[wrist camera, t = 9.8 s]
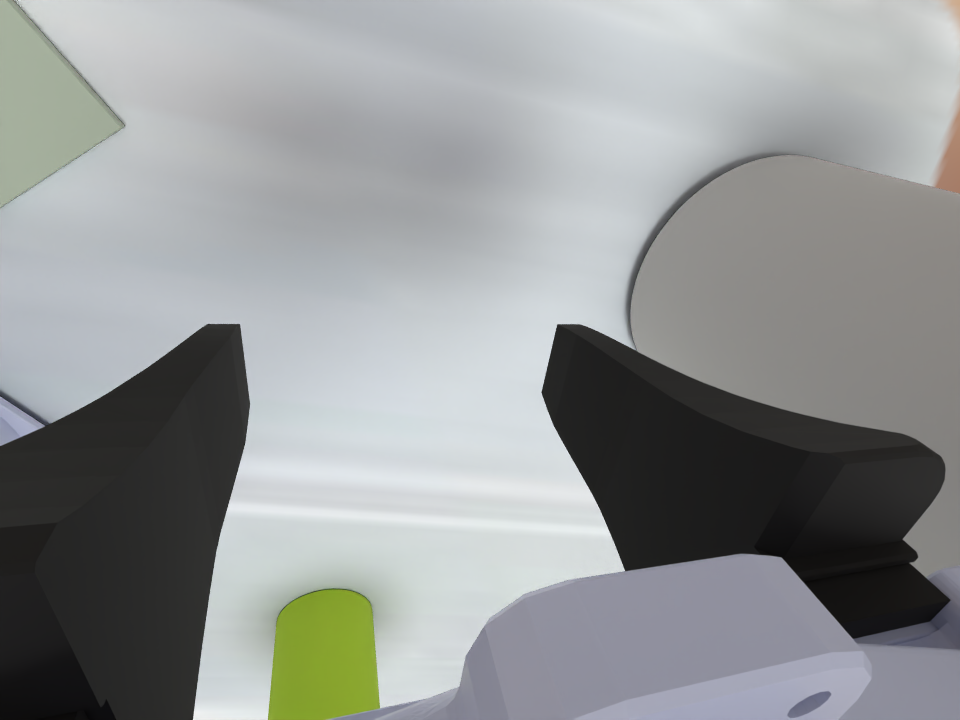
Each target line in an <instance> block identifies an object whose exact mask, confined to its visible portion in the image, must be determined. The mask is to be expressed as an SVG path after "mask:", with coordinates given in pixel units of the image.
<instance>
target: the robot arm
mask: <svg viewBox="0 0 960 720" xmlns="http://www.w3.org/2000/svg"><path fill="white" fill-rule="evenodd" d="M542 395H543V398H544V401H545V404H546V407H547V410H548V412H549V415H550V417H551V420H552V422H553V425H554V427H555V429H556V431H557V432H558V434H559V436H560V438H561V440H562V441H563V443H564V445H565V447H566V449H567V450H568V452H569V454H570V456H571V458H572V459H573V461H574V463H575V465H576V466H577V468H578V470H579V472H580V473H581V475H582V477H583V479H584V480H585V482H586V484H587V486H588V487H589V489H590V491H591V493H592V494H593V496H594V498H595V500H596V502H597V504H598V506H599V508H600V510H601V513H602V515H603V517H604V520H605V522H606V524H607V527H608V529H609V531H610V534H611V536H612V538H613V541H614V543H615V546H616V548H617V551H618V553H619V556H620V559H621V561H622V564H623V566H624V569H625V571H624V572H618V573H611V574H605V575H598V576H591V577H585V578H578V579H572V580H567V581H563V582H560V583H557V584H554V585H551V586H548V587H545V588H541V589H538V590H535V591H532V592H529V593H526V594H524V595H522V596H521V597H519V598H518V599H517V600H515V601H514V602H512V603H511V604H509V605H508V606H506V607H505V608H504V609H502V610H501V611H499V612H498V613H496V614H495V615H493V616H492V617H491V618H489V620H488V621H487V623H486V624H485V626H484V628H483V629H482V631H481V632H480V634H479V636H478V637H477V639H476V641H475V642H474V644H473V645H472V647H471V649H470V650H469V652H468V654H467V655H466V658H465V663H464V668H463V673H462V677H461V682H460V686H459V687H457V688H454V689H451V690H449V691H446V692H444V693H441V694H438V695H436V696H433V697H431V698H428V699H423V700H419V701H414V702H409V703H404V704H399V705H394V706H389V707H385V708H380V709H375V710H370V711H365V712H360V713H355V714H351V715H346V716H341V717H336V718H331V719H326V720H960V565H959V566H954V567H949V568H943V569H941V570H938V571H935V572H934V573H932V574H930V575H929V576H927V577H925V576H924V575H922V574H921V573H920V572H919V571H918V570H917V569H916V568H915V567H914V566H912V565H911V564H910V563H912V562H915V561H916V560H917V558H918V554H917V552H916V551H915V550H914V549H913V548H912V547H911V546H910V545H908V544H907V543H906V542H905V541H904V540H903V538H904V537H905V536H906V534H907V533H908V532H909V531H910V530H911V528H912V527H913V526H914V525H915V523H916V522H917V521H918V520H919V518H920V517H921V516H922V515H923V514H924V512H925V511H926V510H927V509H928V507H929V506H930V505H931V504H932V502H933V501H934V499H935V498H936V496H937V495H938V493H939V492H940V490H941V488H942V485H943V483H944V481H945V471H946V468H945V463H944V461H943V459H942V457H941V456H940V455H939V454H937V453H936V452H934V451H933V450H931V449H930V448H928V447H927V446H926V445H924V444H923V443H921V442H920V441H918V440H917V439H915V438H912V437H910V436H908V435H905V434H902V433H896V432H890V431H884V430H878V429H873V428H867V427H861V426H855V425H849V424H844V423H839V422H834V421H830V420H825V419H821V418H816V417H812V416H808V415H803V414H799V413H795V412H792V411H788V410H784V409H780V408H777V407H773V406H770V405H767V404H763V403H760V402H757V401H754V400H750V399H747V398H744V397H741V396H738V395H735V394H732V393H730V392H727V391H724V390H722V389H719V388H716V387H714V386H711V385H708V384H706V383H703V382H701V381H698V380H696V379H694V378H691V377H689V376H687V375H685V374H683V373H680V372H678V371H676V370H674V369H672V368H669V367H667V366H665V365H663V364H661V363H659V362H657V361H655V360H653V359H651V358H649V357H647V356H645V355H643V354H641V353H639V352H637V351H635V350H633V349H631V348H629V347H628V346H626V345H624V344H622V343H620V342H618V341H616V340H614V339H612V338H610V337H608V336H606V335H604V334H602V333H600V332H598V331H595V330H593V329H591V328H588V327H586V326H583V325H580V324H557V328H556V332H555V337H554V341H553V345H552V350H551V354H550V358H549V363H548V367H547V371H546V376H545V380H544V384H543V389H542ZM249 408H250V401H249V393H248V385H247V377H246V369H245V360H244V352H243V344H242V336H241V328H240V324H207V325H206V326H204V327H202V328H201V329H200V330H198V331H197V332H195V333H194V334H193V335H191V336H190V337H189V338H187V339H186V340H185V341H183V342H182V343H181V344H179V345H178V346H177V347H175V348H174V349H173V350H171V351H170V352H169V353H167V354H166V355H164V356H163V357H162V358H160V359H159V360H158V361H156V362H155V363H153V364H152V365H151V366H149V367H148V368H146V369H145V370H143V371H142V372H140V373H139V374H137V375H135V376H134V377H132V378H131V379H129V380H128V381H126V382H125V383H123V384H122V385H120V386H118V387H117V388H115V389H114V390H112V391H111V392H109V393H107V394H106V395H104V396H102V397H101V398H99V399H97V400H95V401H94V402H92V403H90V404H88V405H86V406H85V407H83V408H81V409H79V410H77V411H75V412H73V413H71V414H69V415H67V416H65V417H63V418H61V419H59V420H57V421H55V422H53V423H51V424H49V425H47V426H44V425H43V424H41V423H40V422H38V421H37V420H35V419H34V418H32V417H31V416H29V415H28V414H26V413H25V412H23V411H22V410H20V409H19V408H17V407H15V406H14V405H12V404H11V403H9V402H8V401H6V400H5V399H3V398H2V397H0V720H193V714H194V706H195V698H196V690H197V682H198V674H199V666H200V658H201V650H202V643H203V636H204V629H205V622H206V615H207V608H208V600H209V594H210V588H211V581H212V575H213V568H214V562H215V556H216V550H217V546H218V542H219V537H220V533H221V529H222V525H223V522H224V518H225V515H226V511H227V507H228V504H229V500H230V497H231V493H232V490H233V486H234V482H235V479H236V475H237V472H238V468H239V464H240V461H241V457H242V453H243V449H244V446H245V441H246V433H247V425H248V417H249Z"/></svg>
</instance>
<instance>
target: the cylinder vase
mask: <svg viewBox="0 0 960 720" xmlns="http://www.w3.org/2000/svg"><path fill="white" fill-rule="evenodd" d="M630 318H631V330H632V335H633V340H634V343H635V346H636V348H637V351H638V352H639V353H641V354H643V355H645V356H647V357H649V358H651V359H653V360H655V361H657V362H659V363H661V364H663V365H665V366H667V367H669V368H672V369H674V370H676V371H678V372H680V373H683V374H685V375H687V376H689V377H691V378H694V379H696V380H698V381H701V382H703V383H706V384H708V385H711V386H714V387H716V388H719V389H722V390H724V391H727V392H730V393H732V394H735V395H738V396H741V397H744V398H747V399H750V400H754V401H757V402H760V403H763V404H767V405H770V406H773V407H777V408H780V409H784V410H788V411H792V412H795V413H799V414H803V415H808V416H812V417H816V418H821V419H825V420H830V421H834V422H839V423H844V424H849V425H855V426H861V427H867V428H873V429H878V430H884V431H890V432H896V433H902V434H905V435H908V436H910V437H912V438H915V439H917V440H918V441H920V442H921V443H923V444H924V445H926V446H927V447H928V448H930V449H931V450H933V451H934V452H936V453H937V454H939V455H940V456H941V457H942V459H943V461H944V463H945V468H946V471H945V481H944V483H943V485H942V488H941V490H940V492H939V493H938V495H937V496H936V498H935V499H934V501H933V502H932V504H931V505H930V506H929V507H928V509H927V510H926V511H925V512H924V514H923V515H922V516H921V517H920V518H919V520H918V521H917V522H916V523H915V525H914V526H913V527H912V528H911V530H910V531H909V532H908V533H907V534H906V536H905V537H904V538H903V540H904V541H905V542H906V543H907V544H908V545H910V546H911V547H912V548H913V549H914V550H915V551H916V552H917V554H918V558H917V560H916V561H915V562H912V563H910V564H911V565H912V566H914V567H915V568H916V569H917V570H918V571H919V572H920V573H921V574H922V575H924V576H925V577H927V576H929V575H930V574H932V573H934V572H935V571H938V570H941V569H943V568H949V567H954V566H959V565H960V194H959V193H955V192H951V191H947V190H943V189H938V188H935V187H930V186H926V185H922V184H918V183H914V182H910V181H906V180H902V179H898V178H894V177H890V176H886V175H882V174H877V173H873V172H869V171H865V170H861V169H857V168H853V167H849V166H845V165H841V164H837V163H833V162H829V161H825V160H820V159H816V158H812V157H807V156H801V155H780V156H772V157H766V158H762V159H758V160H755V161H752V162H749V163H746V164H743V165H741V166H739V167H736V168H734V169H732V170H730V171H728V172H726V173H724V174H723V175H721V176H719V177H717V178H716V179H714V180H713V181H711V182H710V183H708V184H707V185H705V186H704V187H703V188H701V189H700V190H699V191H698V192H696V193H695V194H694V195H693V196H692V197H691V198H689V199H688V200H687V201H686V202H685V203H684V204H683V205H682V206H681V207H680V208H679V209H678V210H677V211H676V212H675V214H674V215H673V216H672V217H671V218H670V219H669V221H668V222H667V223H666V224H665V226H664V227H663V228H662V230H661V231H660V232H659V234H658V235H657V237H656V238H655V240H654V242H653V243H652V245H651V247H650V249H649V250H648V252H647V254H646V256H645V258H644V260H643V263H642V265H641V267H640V270H639V273H638V276H637V279H636V282H635V286H634V290H633V294H632V301H631V314H630Z"/></svg>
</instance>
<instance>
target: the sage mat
mask: <svg viewBox="0 0 960 720" xmlns="http://www.w3.org/2000/svg"><path fill="white" fill-rule="evenodd" d="M123 127H125V126H124V124H123V123H122V122H121V121H120V120H119V119H118V118H117V117H116V115H115V114H114V113H113V112H112V111H111V110H110V109H109V108H108V106H107V105H106V104H105V103H104V102H103V101H102V100H101V99H100V97H99V96H98V95H97V94H96V93H95V92H94V91H93V90H92V88H91V87H90V86H89V85H88V84H87V83H86V82H85V81H84V79H83V78H82V77H81V76H80V75H79V74H78V73H77V72H76V70H75V69H74V68H73V67H72V66H71V65H70V64H69V63H68V61H67V60H66V59H65V58H64V57H63V56H62V55H61V54H60V52H59V51H58V50H57V49H56V48H55V47H54V46H53V45H52V43H51V42H50V41H49V40H48V39H47V38H46V37H45V36H44V34H43V33H42V32H41V31H40V30H39V29H38V28H37V27H36V25H35V24H34V23H33V22H32V21H31V20H30V19H29V18H28V16H27V15H26V14H25V13H24V12H23V11H22V10H21V9H20V7H19V6H18V5H17V4H16V3H15V2H14V1H13V0H0V208H1V207H2V206H4V205H5V204H7V203H9V202H10V201H12V200H13V199H15V198H16V197H18V196H19V195H21V194H22V193H24V192H25V191H27V190H28V189H30V188H31V187H33V186H35V185H36V184H38V183H39V182H41V181H42V180H44V179H45V178H47V177H48V176H50V175H51V174H53V173H54V172H56V171H58V170H59V169H61V168H62V167H64V166H65V165H67V164H68V163H70V162H71V161H73V160H74V159H76V158H77V157H79V156H80V155H82V154H84V153H85V152H87V151H88V150H90V149H91V148H93V147H94V146H96V145H97V144H99V143H100V142H102V141H103V140H105V139H106V138H108V137H110V136H111V135H113V134H114V133H116V132H117V131H119V130H120V129H122V128H123Z"/></svg>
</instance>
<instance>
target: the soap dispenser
mask: <svg viewBox="0 0 960 720" xmlns="http://www.w3.org/2000/svg"><path fill="white" fill-rule="evenodd" d="M375 709H380V703H379V690H378V677H377V664H376V651H375V638H374V625H373V612H372V606H371V604H370V602H369V601H368V600H367V599H366V598H365V597H364V596H362V595H360V594H358V593H356V592H352V591H348V590H341V589H330V590H322V591H317V592H313V593H310V594H307V595H304V596H302V597H300V598H298V599H296V600H294V601H293V602H291V603H290V604H288V605H287V606H286V607H285V608H284V609H283V610H282V612H281V613H280V615H279V616H278V619H277V623H276V634H275V645H274V657H273V668H272V679H271V691H270V702H269V713H268V720H326V719H331V718H336V717H341V716H346V715H351V714H355V713H360V712H365V711H370V710H375Z"/></svg>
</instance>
